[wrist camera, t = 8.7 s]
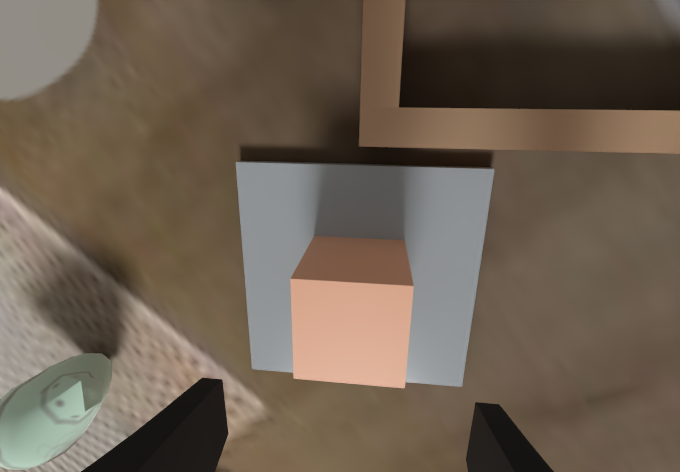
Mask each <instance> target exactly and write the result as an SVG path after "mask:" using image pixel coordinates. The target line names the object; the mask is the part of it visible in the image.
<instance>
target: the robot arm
mask: <svg viewBox="0 0 680 472" xmlns="http://www.w3.org/2000/svg"><path fill="white" fill-rule="evenodd" d="M227 436H228V427H227V418H226V409H225V400H224V391H223V382H222V380H221V379H210V378H202V379H200V380H199V381H198V382H196V383H195V384H194V385H193V386H191V387H190V388H189V389H188V390H187V391H185V392H184V393H183V394H182V395H181V396H179V397H178V398H177V399H176V400H174V401H173V402H172V403H171V404H170V405H168V406H167V407H166V408H165V409H163V410H162V411H161V412H160V413H158V414H157V415H156V416H155V417H153V418H152V419H151V420H150V421H148V422H147V423H146V424H145V425H143V426H142V427H141V428H140V429H138V430H137V431H136V432H135V433H133V434H132V435H131V436H129V437H128V438H127V439H125V440H124V441H123V442H121V443H120V444H118V445H117V446H116V447H114V448H113V449H112V450H110V451H109V452H108V453H106V454H105V455H104V456H102V457H101V458H100V459H98V460H97V461H96V462H94V463H93V464H91V465H90V466H88V467H87V468H86V469H84V470H83V471H81V472H215V469H216V466H217V464H218V461H219V458H220V456H221V453H222V450H223V447H224V444H225V442H226V439H227ZM466 461H467V467H468V472H554V471H553V470H552V469H551V468H550V467H549V466H548V464H547V463H546V462H545V461H544V460H543V458H542V457H541V456H540V455H539V454H538V452H537V451H536V450H535V449H534V447H533V446H532V445H531V444H530V443H529V441H528V440H527V439H526V438H525V436H524V435H523V434H522V433H521V431H520V430H519V429H518V428H517V426H516V425H515V424H514V422H513V421H512V420H511V419H510V417H509V416H508V415H507V414H506V412H505V411H504V410H503V409H502V407H501V406H500V405H499V404H488V403H477V402H476V403H475V409H474V415H473V421H472V427H471V433H470V439H469V445H468V450H467V456H466Z"/></svg>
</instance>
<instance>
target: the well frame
mask: <svg viewBox="0 0 680 472" xmlns="http://www.w3.org/2000/svg"><path fill="white" fill-rule="evenodd" d="M404 16H405V0H363V25H362V59H361V93H360V127H359V147H404V148H450V149H496V150H542V151H587V152H633V153H679V154H680V111H666V110H576V109H486V108H399V96H400V80H401V64H402V48H403V32H404Z"/></svg>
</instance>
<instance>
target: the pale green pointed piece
mask: <svg viewBox="0 0 680 472" xmlns="http://www.w3.org/2000/svg"><path fill="white" fill-rule="evenodd" d="M111 377H112V362H111V361H110V360H109V359H108V358H107V357H106V356H105V355H103V354H102V353H86V354H82V355H78V356H75V357H71V358H69V359H67V360H64V361H62V362H60V363H57V364H55V365H53V366H51V367H49V368H47V369H46V370H44V371H43V372H41V373H39V374H38V375H36V376H34V377H33V378H31V379H29V380H27V381H25V382H24V383H22V384H20V385H18V386H17V387H15V388H13V389H11V390H10V391H9V392H8V393H7V394H6V395H5V396H4V397H3V398H2V399H0V467H3V468H6V469H16V470H26V469H29V468H33V467H36V466H40V465H43V464H45V463H47V462H49V461H51V460H52V459H54V458H56V457H58V456H60V455H61V454H63V453H65V452H66V451H67V450H68V449H69V448H71V447H72V446H73V445H74V444H75V443H76V442H77V441H78V440H79V439H80V438H81V437H82V436H83V434H84V433H85V431H86V430H87V428H88V427H89V425H90V424H91V422H92V420H93V419H94V417H95V416H96V414H97V412H98V410H99V408H100V406H101V404H102V402H103V400H104V398H105V397H106V395H107V393H108V390H109V386H110V382H111Z"/></svg>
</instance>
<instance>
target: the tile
mask: <svg viewBox="0 0 680 472" xmlns="http://www.w3.org/2000/svg"><path fill="white" fill-rule="evenodd" d="M236 172H237V185H238V197H239V210H240V222H241V235H242V248H243V260H244V273H245V285H246V298H247V311H248V323H249V336H250V348H251V361H252V369H258V370H270V371H281V372H293V344H292V314H291V285H290V278H291V277H292V275H293V273H294V271H295V269H296V268H297V266H298V264H299V262H300V260H301V259H302V257H303V255H304V253H305V251H306V250H307V248H308V246H309V244H310V242H311V241H312V239H313V237H314V236H324V237H345V238H366V239H387V240H405V244H406V249H407V254H408V259H409V264H410V269H411V274H412V279H413V284H414V290H413V301H412V312H411V324H410V335H409V346H408V357H407V369H406V380H405V382H411V383H423V384H435V385H446V386H458V387H462V382H463V375H464V369H465V362H466V355H467V349H468V342H469V335H470V329H471V322H472V316H473V309H474V302H475V296H476V289H477V282H478V276H479V269H480V262H481V256H482V249H483V242H484V236H485V229H486V222H487V216H488V209H489V203H490V196H491V189H492V183H493V176H494V169H493V168H491V167H461V166H423V165H386V164H348V163H310V162H273V161H238V162H236Z"/></svg>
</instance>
